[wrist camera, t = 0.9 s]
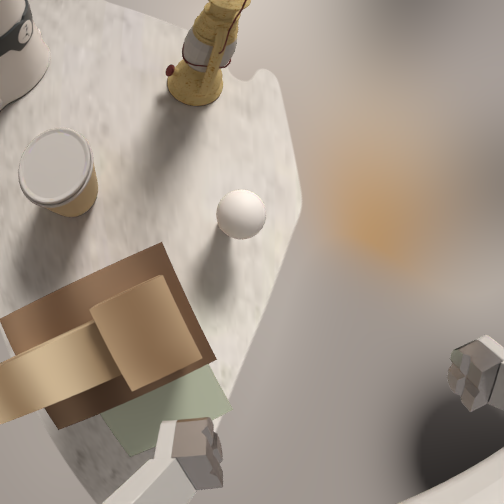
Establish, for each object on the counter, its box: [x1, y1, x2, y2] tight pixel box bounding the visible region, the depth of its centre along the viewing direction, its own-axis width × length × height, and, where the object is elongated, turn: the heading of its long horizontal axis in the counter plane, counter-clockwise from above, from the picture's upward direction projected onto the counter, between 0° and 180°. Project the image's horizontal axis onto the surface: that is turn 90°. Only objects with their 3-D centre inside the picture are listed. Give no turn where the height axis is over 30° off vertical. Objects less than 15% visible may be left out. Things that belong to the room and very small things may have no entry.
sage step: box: [100, 364, 233, 457], centre depth 35 cm, size 12×9×16 cm
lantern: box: [166, 0, 251, 106], centre depth 33 cm, size 12×10×30 cm
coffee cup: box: [18, 128, 98, 217], centre depth 35 cm, size 9×9×12 cm
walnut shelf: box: [0, 242, 217, 430], centre depth 30 cm, size 12×8×26 cm, turn 115°
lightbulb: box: [216, 190, 266, 239], centre depth 42 cm, size 6×6×11 cm
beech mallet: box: [0, 275, 202, 424], centre depth 14 cm, size 19×4×4 cm, turn 115°
